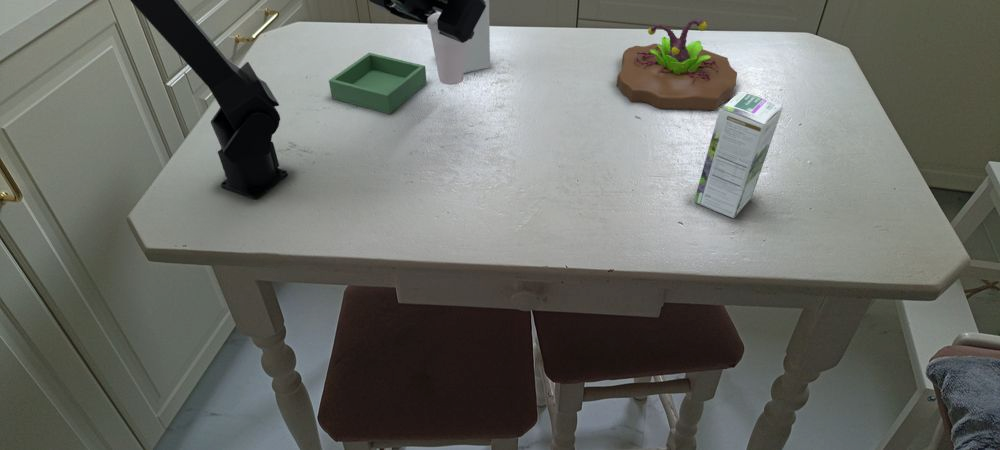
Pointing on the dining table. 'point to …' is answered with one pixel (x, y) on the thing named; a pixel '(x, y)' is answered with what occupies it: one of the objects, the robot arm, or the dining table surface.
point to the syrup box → (737, 153)
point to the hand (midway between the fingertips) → (456, 29)
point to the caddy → (378, 82)
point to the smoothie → (447, 54)
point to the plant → (676, 73)
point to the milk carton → (479, 44)
